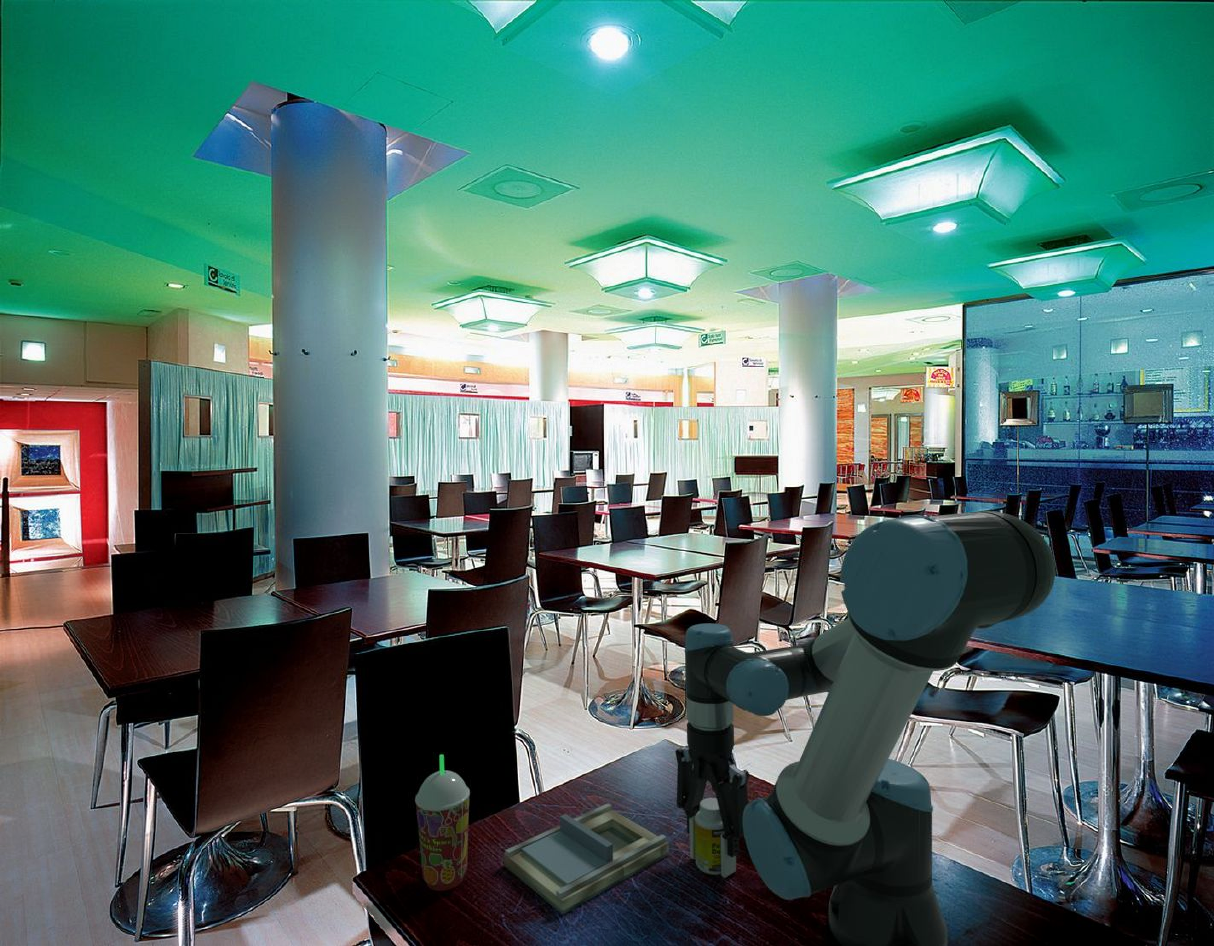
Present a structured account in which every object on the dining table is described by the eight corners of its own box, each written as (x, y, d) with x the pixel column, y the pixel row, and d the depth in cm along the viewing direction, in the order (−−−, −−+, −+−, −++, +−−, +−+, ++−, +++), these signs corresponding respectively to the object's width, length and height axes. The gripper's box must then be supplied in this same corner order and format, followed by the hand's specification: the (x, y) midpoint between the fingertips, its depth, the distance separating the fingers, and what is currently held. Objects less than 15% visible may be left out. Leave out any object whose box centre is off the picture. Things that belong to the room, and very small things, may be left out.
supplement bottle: (712, 880, 106) (710, 816, 106) (688, 863, 111) (687, 801, 111) (738, 868, 110) (737, 805, 109) (714, 851, 114) (713, 791, 114)
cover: (565, 831, 117) (565, 813, 117) (613, 863, 108) (612, 843, 108) (521, 851, 112) (521, 833, 112) (567, 887, 102) (567, 867, 102)
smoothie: (406, 890, 106) (402, 762, 105) (438, 860, 113) (435, 741, 113) (452, 902, 103) (448, 770, 102) (482, 870, 110) (478, 748, 110)
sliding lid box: (606, 816, 126) (606, 801, 126) (669, 854, 114) (668, 837, 114) (504, 865, 112) (503, 848, 112) (563, 914, 99) (562, 895, 99)
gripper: (773, 732, 105) (775, 880, 106) (683, 700, 119) (685, 831, 120) (742, 747, 100) (745, 902, 101) (652, 712, 115) (654, 848, 115)
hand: (712, 863), depth 110 cm, fingers open, 6 cm apart
